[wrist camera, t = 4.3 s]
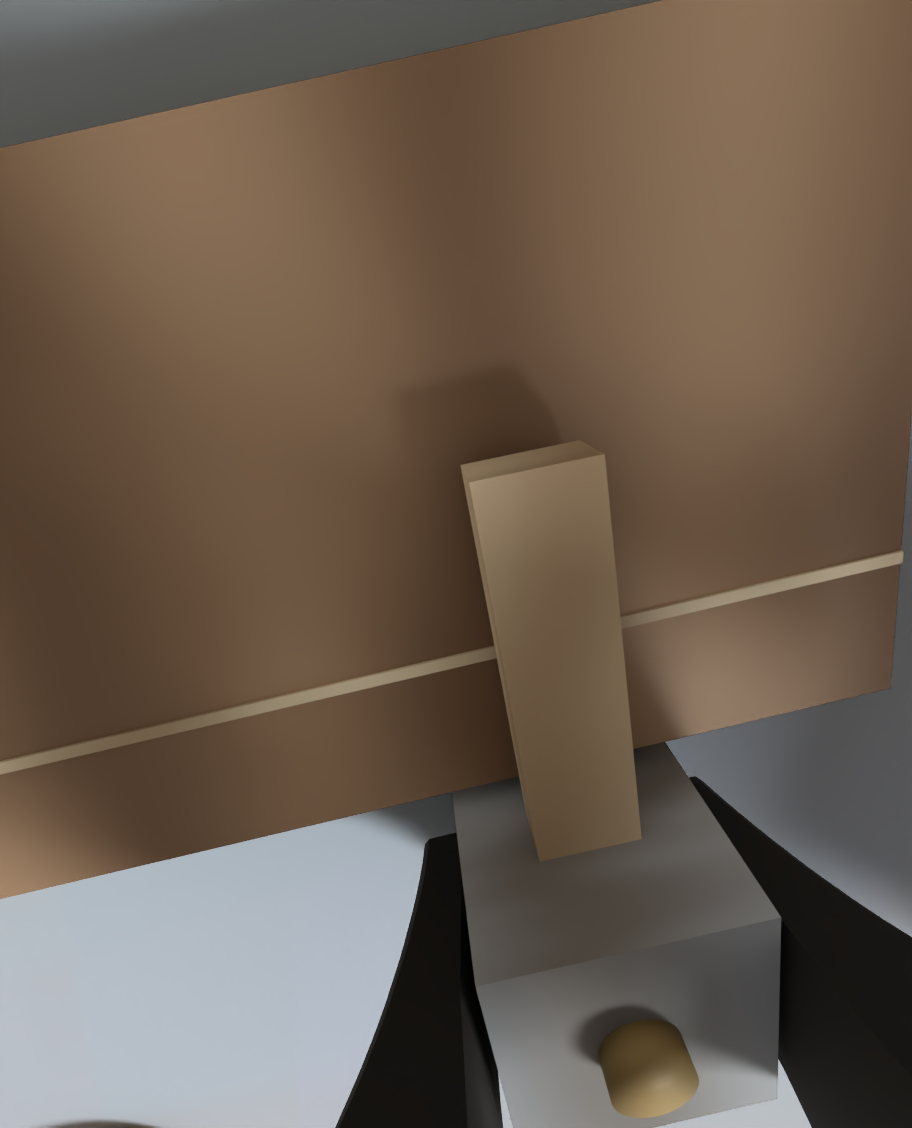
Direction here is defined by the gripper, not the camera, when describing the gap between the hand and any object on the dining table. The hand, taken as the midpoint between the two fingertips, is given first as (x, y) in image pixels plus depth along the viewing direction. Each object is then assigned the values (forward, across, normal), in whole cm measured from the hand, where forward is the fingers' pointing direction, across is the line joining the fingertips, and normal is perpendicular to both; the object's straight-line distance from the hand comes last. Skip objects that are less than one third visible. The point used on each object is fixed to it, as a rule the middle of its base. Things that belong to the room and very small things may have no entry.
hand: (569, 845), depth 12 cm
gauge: (+1, 0, -3) cm, 3 cm away
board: (+1, +6, -8) cm, 10 cm away
